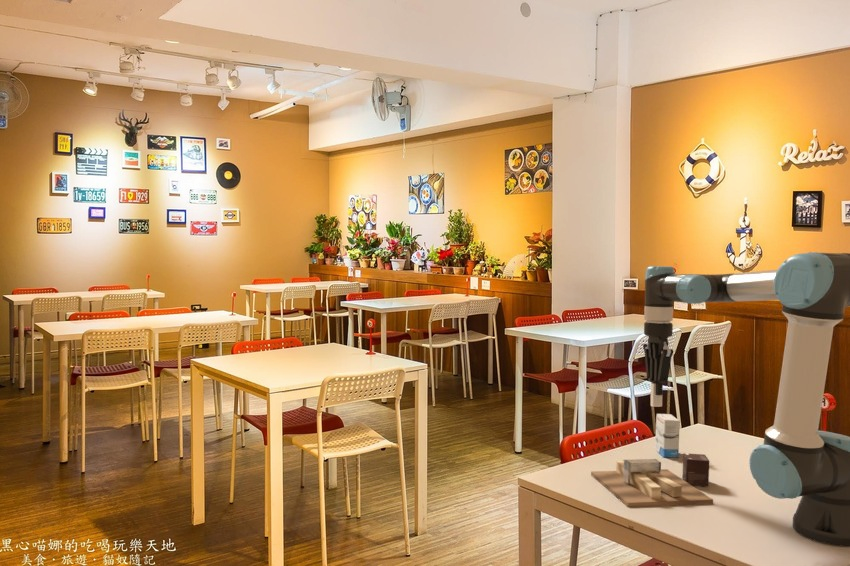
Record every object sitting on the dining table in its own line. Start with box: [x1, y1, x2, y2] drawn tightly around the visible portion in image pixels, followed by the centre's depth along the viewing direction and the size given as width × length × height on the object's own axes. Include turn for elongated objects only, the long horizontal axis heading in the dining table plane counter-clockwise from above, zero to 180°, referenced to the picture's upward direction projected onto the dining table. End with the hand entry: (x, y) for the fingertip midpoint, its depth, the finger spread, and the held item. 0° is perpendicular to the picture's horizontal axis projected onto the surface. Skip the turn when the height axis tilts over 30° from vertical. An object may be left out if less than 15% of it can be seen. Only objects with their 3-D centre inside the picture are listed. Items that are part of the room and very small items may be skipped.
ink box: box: [654, 413, 681, 458], centre depth 222 cm, size 8×5×12 cm, turn 179°
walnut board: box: [590, 469, 714, 508], centre depth 190 cm, size 24×23×1 cm
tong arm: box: [641, 471, 682, 497], centre depth 189 cm, size 18×2×3 cm, turn 16°
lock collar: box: [623, 458, 662, 484], centre depth 191 cm, size 3×9×6 cm, turn 99°
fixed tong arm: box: [615, 460, 661, 499], centre depth 190 cm, size 22×2×3 cm, turn 9°
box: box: [681, 453, 710, 487], centre depth 196 cm, size 6×6×7 cm
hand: (656, 406), depth 197 cm, fingers closed
